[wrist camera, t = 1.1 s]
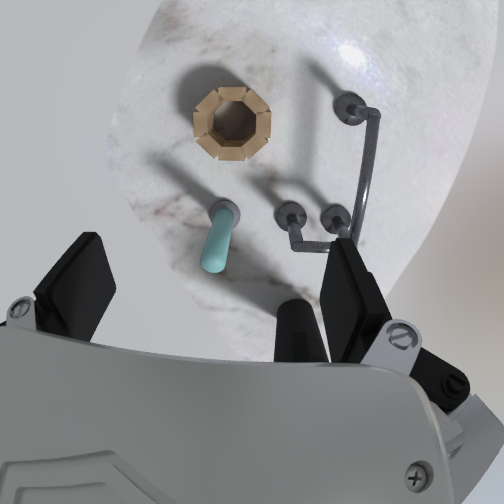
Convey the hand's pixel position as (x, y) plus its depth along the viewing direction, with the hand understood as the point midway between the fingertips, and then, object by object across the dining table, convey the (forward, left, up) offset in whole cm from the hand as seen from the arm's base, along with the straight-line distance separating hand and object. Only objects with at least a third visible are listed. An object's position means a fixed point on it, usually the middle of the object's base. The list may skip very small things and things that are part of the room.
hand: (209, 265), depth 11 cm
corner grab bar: (0, +8, -18) cm, 20 cm away
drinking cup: (+20, +7, -19) cm, 28 cm away
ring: (-4, -1, -18) cm, 19 cm away
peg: (+6, -2, -18) cm, 19 cm away
